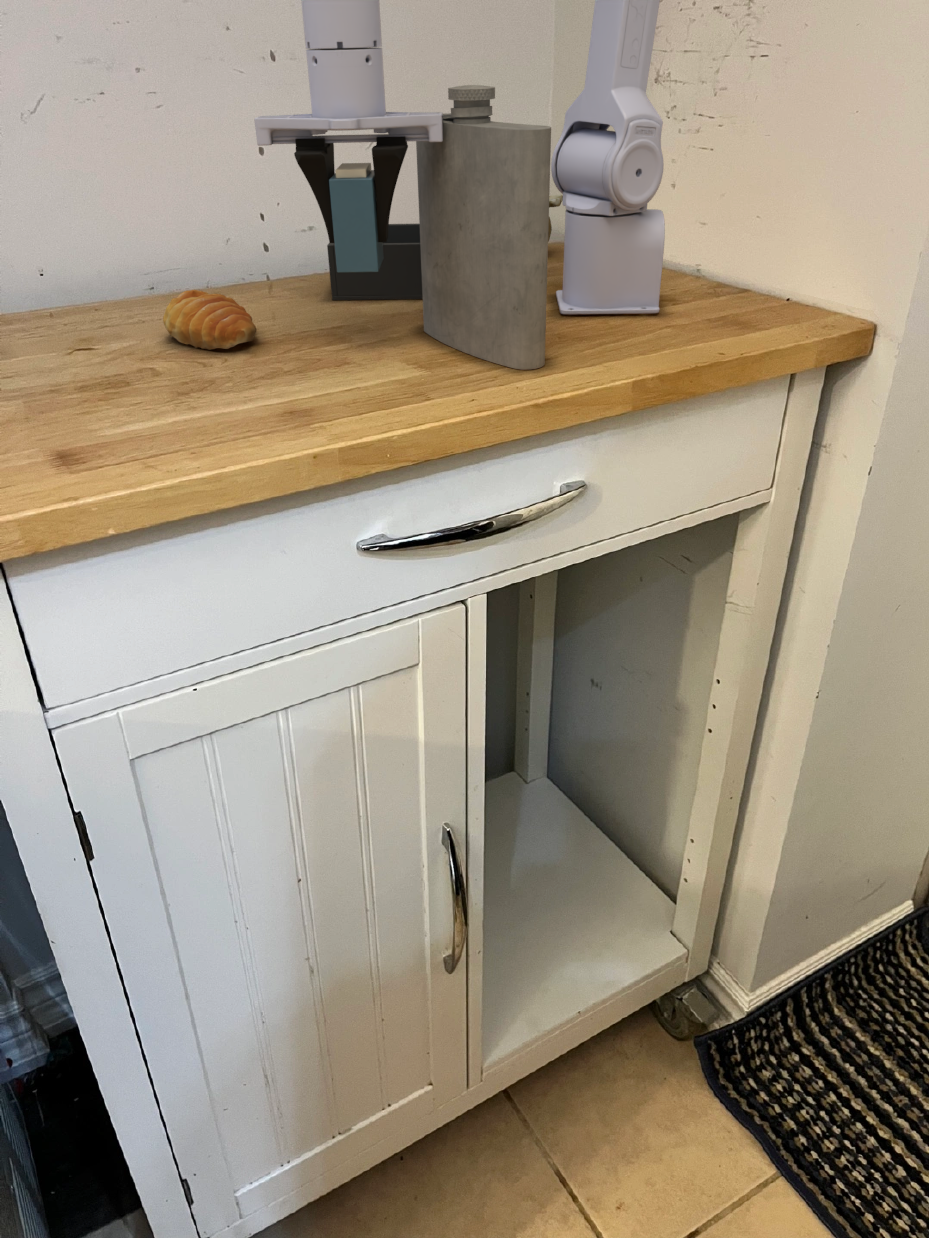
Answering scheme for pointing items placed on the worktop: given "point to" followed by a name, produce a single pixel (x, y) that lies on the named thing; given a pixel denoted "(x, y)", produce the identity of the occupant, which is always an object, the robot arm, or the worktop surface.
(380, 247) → the juice carton
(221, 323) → the pastry
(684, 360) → the worktop surface
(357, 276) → the bin
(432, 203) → the hip flask
